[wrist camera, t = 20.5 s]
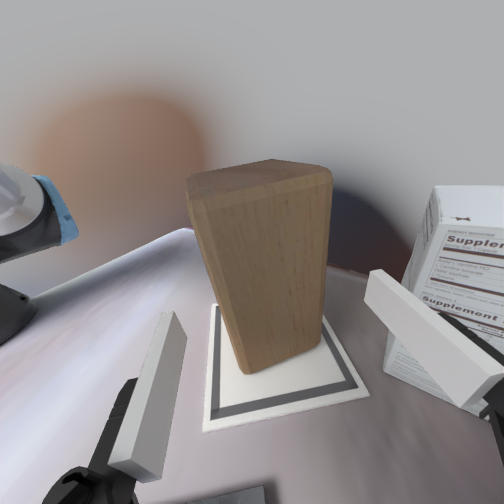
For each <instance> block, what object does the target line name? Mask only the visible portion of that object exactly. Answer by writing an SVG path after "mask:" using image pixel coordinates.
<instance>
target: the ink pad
mask: <svg viewBox="0 0 504 504" xmlns="http://www.w3.org/2000/svg"><path fill="white" fill-rule="evenodd" d="M186 504H266V498H265V490H264V487H263V486H258V487H254V488H250V489H246V490H241V491H237V492H233V493H229V494H225V495H220V496H216V497H212V498H208V499H203V500H199V501H195V502H191V503H186Z"/></svg>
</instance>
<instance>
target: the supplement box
mask: <svg viewBox="0 0 504 504" xmlns="http://www.w3.org/2000/svg"><path fill="white" fill-rule="evenodd" d="M401 285H402V286H403V287H404V288H406V289H407V290H408V291H409V292H411V293H412V294H413V295H414V296H416V297H417V298H418V299H419V300H421V301H422V302H423V303H424V304H426V305H427V306H428V307H430V308H431V309H432V310H433V311H435V312H436V313H440V312H443V313H445V314H447V315H449V316H451V317H453V318H455V319H457V320H458V321H460V322H461V323H462V324H464V325H465V326H466V327H468V329H469V330H472V331H473V332H474V333H476V334H477V335H478V337H481V338H482V339H483V340H485V341H486V342H487V343H489V344H490V345H491V346H493V347H494V348H495V349H497V350H498V351H499V352H501V353H502V354H503V355H504V186H434V187H433V189H432V192H431V195H430V198H429V201H428V204H427V207H426V211H425V213H424V217H423V219H422V222H421V225H420V229H419V232H418V235H417V239H416V242H415V246H414V249H413V253H412V256H411V259H410V261H409V263H408V266H407V268H406V271H405V274H404V277H403V280H402V283H401ZM383 371H384V372H385V373H387V374H389V375H392V376H394V377H396V378H398V379H400V380H402V381H404V382H406V383H408V384H411V385H413V386H415V387H417V388H419V389H421V390H423V391H425V392H428V393H430V394H432V395H434V396H436V397H438V398H440V399H442V400H444V401H447V402H449V403H451V404H453V405H455V406H457V405H456V404H455V403H454V402H453V401H452V399H451V398H450V397H449V396H448V395H447V394H446V393H445V392H444V390H443V389H442V388H441V387H440V386H439V385H438V384H437V383H436V381H435V380H434V379H433V378H432V377H431V376H430V375H429V374H428V372H427V371H426V370H425V369H424V368H423V367H422V366H421V365H420V363H419V362H418V361H417V360H416V359H415V358H414V357H413V356H412V355H411V353H410V352H409V351H408V350H407V349H406V348H405V347H404V346H403V344H402V343H401V342H400V341H399V340H398V339H397V338H396V337H395V335H394V334H393V333H392V332H391V331H390V330H389V329H388V336H387V342H386V349H385V356H384V363H383ZM487 405H488V403H487V402H486V401H485V400H484V399H483V398H482V399H481V400H480V401H479V402H478V403H477V404H476V405H472V406H467V407H463V408H462V409H464V410H466V411H468V412H470V413H472V414H474V415H476V416H478V417H479V412H481V411H482V410H483V409H484V408H485V407H486V406H487ZM457 407H458V406H457ZM484 419H485V420H487V421H488V420H489V419H490V418H489V415H487V416H486V417H485V418H484Z"/></svg>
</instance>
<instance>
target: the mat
mask: <svg viewBox="0 0 504 504" xmlns="http://www.w3.org/2000/svg"><path fill="white" fill-rule="evenodd" d="M369 396H370V394H369V392H368V390H367V388H366V387H365V385H364V383H363V382H362V380H361V378H360V376H359V375H358V373H357V371H356V369H355V368H354V366H353V364H352V363H351V361H350V359H349V357H348V356H347V354H346V352H345V350H344V349H343V347H342V345H341V344H340V342H339V340H338V338H337V337H336V335H335V333H334V331H333V330H332V328H331V326H330V325H329V323H328V321H327V319H326V318H325V316H324V314H323V317H322V330H321V342H320V343H319V344H318V345H317V346H316V347H315V348H312V349H310V350H308V351H305V352H303V353H300V354H298V355H296V356H293V357H291V358H289V359H286V360H284V361H281V362H279V363H277V364H274V365H272V366H270V367H267V368H265V369H262V370H260V371H258V372H255V373H253V374H250V375H245V374H243V373H242V371H241V370H240V369H239V366H238V363H237V360H236V357H235V354H234V351H233V348H232V345H231V342H230V339H229V336H228V333H227V330H226V327H225V324H224V321H223V317H222V314H221V311H220V308H219V305H218V303H216V304H212V309H211V323H210V336H209V350H208V363H207V376H206V390H205V403H204V417H203V430H202V432H203V433H208V432H213V431H217V430H222V429H226V428H231V427H235V426H240V425H244V424H249V423H253V422H258V421H262V420H266V419H271V418H275V417H280V416H284V415H289V414H293V413H298V412H302V411H307V410H311V409H316V408H320V407H325V406H329V405H334V404H338V403H343V402H347V401H352V400H356V399H361V398H365V397H369Z"/></svg>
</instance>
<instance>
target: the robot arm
mask: <svg viewBox="0 0 504 504" xmlns="http://www.w3.org/2000/svg"><path fill="white" fill-rule="evenodd" d="M78 235H79V230H78V228H77V226H76V224H75V222H74V220H73V218H72V216H71V215H70V212H69V211H68V208H67V206H66V204H65V203H64V201H63V199H62V197H61V196H60V194H59V192H58V190H57V189H56V187H55V185H54V184H53V182H52V181H51V180H50V179H49V178H48V177H46V176H36V175H32V176H30V175H29V174H28V173H26V172H25V171H23V170H21V169H19V168H17V167H15V166H13V165H10V164H7V163H4V162H0V264H1V263H5V262H8V261H11V260H14V259H17V258H20V257H23V256H26V255H29V254H32V253H36V252H39V251H42V250H45V249H48V248H51V247H54V246H61V245H62V244H64V243H66V242H68V241H71V240H73V239H75V238H77V237H78ZM364 302H365V303H366V304H367V305H368V306H369V307H370V308H371V310H372V311H373V312H374V313H375V314H376V315H377V316H378V317H379V319H380V320H381V321H382V322H383V323H384V324H385V325H386V326H387V328H388V329H389V330H390V331H391V332H392V333H393V334H394V335H395V337H396V338H397V339H398V340H399V341H400V342H401V343H402V344H403V346H404V347H405V348H406V349H407V350H408V351H409V352H410V353H411V355H412V356H413V357H414V358H415V359H416V360H417V361H418V362H419V363H420V365H421V366H422V367H423V368H424V369H425V370H426V371H427V372H428V374H429V375H430V376H431V377H432V378H433V379H434V380H435V381H436V383H437V384H438V385H439V386H440V387H441V388H442V389H443V390H444V392H445V393H446V394H447V395H448V396H449V397H450V398H451V399H452V401H453V402H454V403H455V404H456V405H457V406H458V407H459V408H463V407H467V406H472V405H476V404H477V403H478V402H479V401H480V400H481V399H482V398H483V399H484V400H485V401H486V402H487V403H488V405H487V406H486V407H485V408H484V409H483V410H482V411H481V412H479V418H481V419H484V418H485V417H486V416H487V415H489V418H490V419H489V420H488V422H490V423H491V425H492V428H493V431H494V435H495V438H496V442H497V445H498V449H499V452H500V456H501V459H502V462H503V466H504V355H503V354H502V353H501V352H499V351H498V350H497V349H495V348H494V347H493V346H491V345H490V344H489V343H487V342H486V341H485V340H483V339H482V338H481V337H478V335H477V334H476V333H474V332H473V331H472V330H469V329H468V327H466V326H465V325H464V324H462V323H461V322H460V321H458V320H457V319H455V318H453V317H451V316H449V315H447V314H445V313H443V312H440V313H436V312H435V311H433V310H432V309H431V308H430V307H428V306H427V305H426V304H424V303H423V302H422V301H421V300H419V299H418V298H417V297H416V296H414V295H413V294H412V293H411V292H409V291H408V290H407V289H406V288H404V287H403V286H402V285H401V284H399V283H398V282H397V281H396V280H394V279H393V278H392V277H391V276H389V275H388V274H387V273H385V272H384V271H383V270H382V269H379V270H374V271H370V275H369V279H368V284H367V289H366V293H365V298H364ZM37 308H38V306H37V304H36V303H35V302H34V301H33V300H32V299H31V298H30V297H28V296H27V295H25V294H22V293H20V292H18V291H15V290H13V289H11V288H8V287H7V286H4V285H2V284H0V344H1V343H3V342H4V341H6V340H7V339H9V338H10V337H11V336H13V335H14V334H15V333H17V332H18V331H19V330H20V329H21V328H23V327H24V326H25V325H26V324H27V323H28V322H29V321H30V320H31V319H32V317H33V316H34V315H35V313H36V311H37ZM186 342H187V336H186V334H185V332H184V330H183V328H182V326H181V324H180V322H179V320H178V318H177V316H176V314H175V312H174V311H170V312H165V313H162V314H161V317H160V319H159V322H158V325H157V328H156V330H155V333H154V336H153V339H152V342H151V344H150V347H149V350H148V353H147V355H146V358H145V361H144V364H143V367H142V369H141V372H140V375H139V378H134V379H129V380H128V381H127V382H126V383H125V385H124V386H123V388H122V389H121V390H120V392H119V394H118V396H117V399H116V401H115V403H114V408H112V411H111V413H110V415H109V420H107V423H106V425H105V427H104V430H103V432H102V435H101V437H100V439H99V442H98V444H97V447H96V449H95V451H94V454H93V456H92V459H91V461H90V463H89V466H88V468H85V467H81V466H78V467H76V468H73V469H71V470H69V471H68V472H67V473H65V474H64V475H63V476H61V478H60V479H59V480H58V481H57V482H56V483H55V484H54V485H53V486H52V488H51V489H50V491H49V492H48V494H47V495H46V497H45V498H44V500H43V502H42V504H139V503H138V500H137V497H136V494H135V493H134V488H135V484H136V480H137V481H139V482H141V483H147V482H151V481H155V480H159V479H161V478H162V473H163V467H164V462H165V456H166V451H167V445H168V440H169V434H170V429H171V424H172V418H173V413H174V407H175V402H176V396H177V391H178V385H179V380H180V375H181V369H182V364H183V358H184V353H185V347H186Z"/></svg>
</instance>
